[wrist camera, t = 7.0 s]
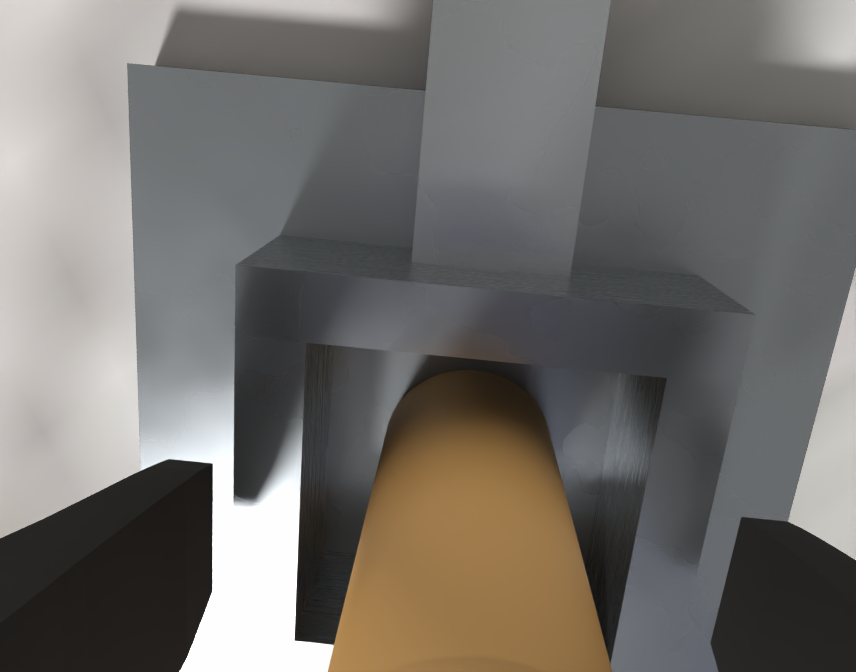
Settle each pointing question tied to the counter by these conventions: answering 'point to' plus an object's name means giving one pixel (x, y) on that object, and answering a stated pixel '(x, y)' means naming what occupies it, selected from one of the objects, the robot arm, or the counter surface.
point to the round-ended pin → (468, 543)
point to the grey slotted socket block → (480, 313)
